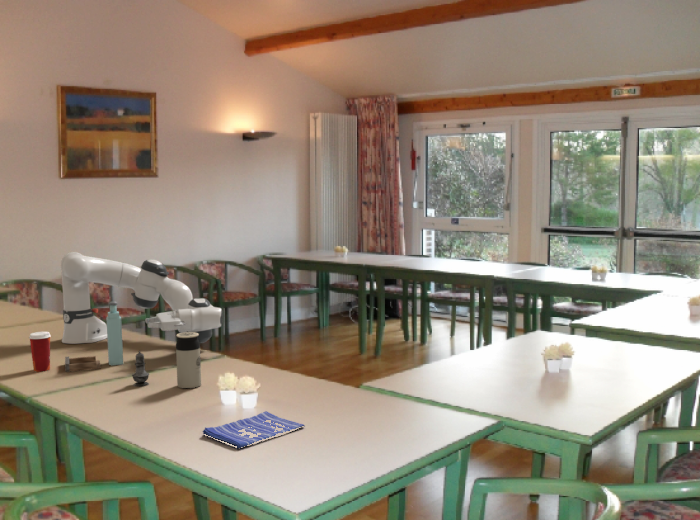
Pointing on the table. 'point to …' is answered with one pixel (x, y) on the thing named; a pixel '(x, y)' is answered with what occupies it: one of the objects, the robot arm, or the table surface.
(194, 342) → the travel mug
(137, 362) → the salt shaker
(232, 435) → the dish towel
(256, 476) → the table surface
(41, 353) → the paper cup
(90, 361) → the brown square frame
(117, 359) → the bottle
